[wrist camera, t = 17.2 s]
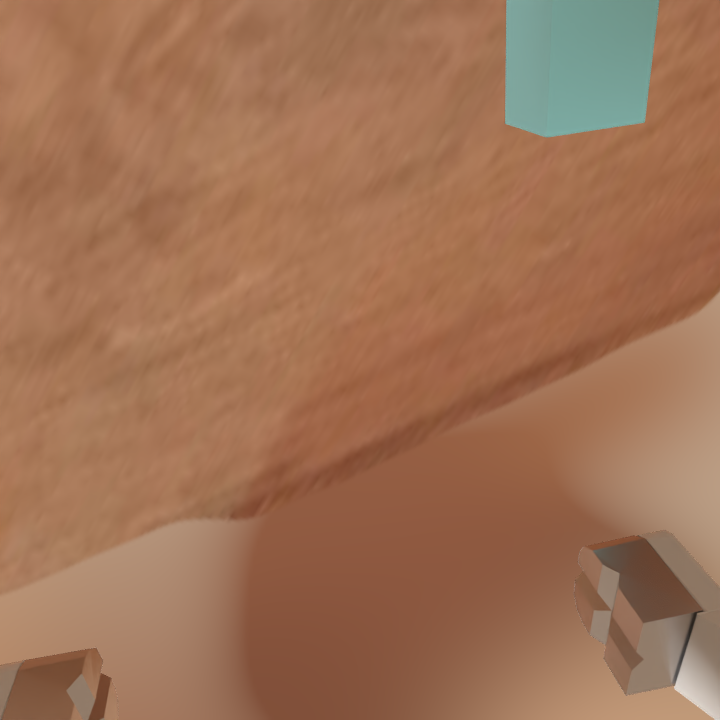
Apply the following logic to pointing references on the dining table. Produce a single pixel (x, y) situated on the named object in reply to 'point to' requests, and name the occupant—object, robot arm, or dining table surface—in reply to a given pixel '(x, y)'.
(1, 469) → the dining table surface
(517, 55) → the teal square bar
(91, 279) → the dining table surface
